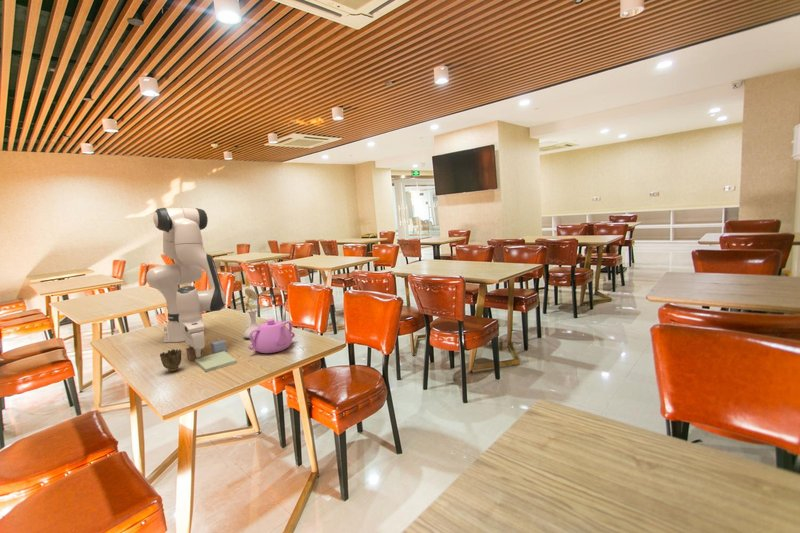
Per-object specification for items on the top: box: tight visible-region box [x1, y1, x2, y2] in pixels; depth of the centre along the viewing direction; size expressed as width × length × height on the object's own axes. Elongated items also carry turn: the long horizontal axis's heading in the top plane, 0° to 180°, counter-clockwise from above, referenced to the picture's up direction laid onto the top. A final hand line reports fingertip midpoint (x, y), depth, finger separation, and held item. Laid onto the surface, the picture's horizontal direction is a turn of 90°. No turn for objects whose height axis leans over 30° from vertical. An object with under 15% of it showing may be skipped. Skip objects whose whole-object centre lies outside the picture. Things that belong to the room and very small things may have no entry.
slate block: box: [210, 339, 228, 354], centre depth 169 cm, size 5×5×5 cm
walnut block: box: [185, 346, 204, 363], centre depth 163 cm, size 5×5×5 cm
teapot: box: [248, 318, 296, 354], centre depth 168 cm, size 22×22×14 cm
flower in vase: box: [242, 287, 260, 339], centre depth 188 cm, size 13×11×25 cm
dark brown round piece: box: [159, 348, 182, 373], centre depth 150 cm, size 8×7×8 cm
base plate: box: [194, 351, 238, 373], centre depth 157 cm, size 16×12×1 cm
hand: (195, 354), depth 163 cm, fingers open, 7 cm apart
